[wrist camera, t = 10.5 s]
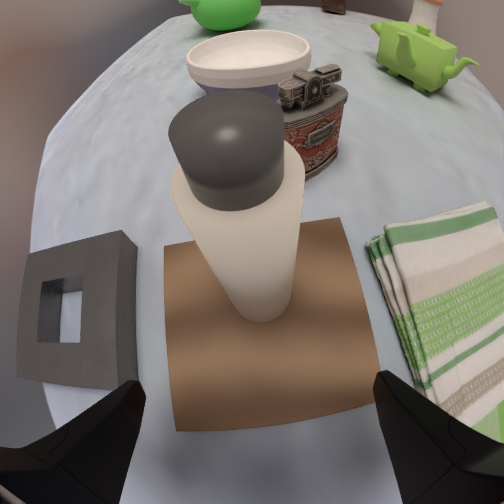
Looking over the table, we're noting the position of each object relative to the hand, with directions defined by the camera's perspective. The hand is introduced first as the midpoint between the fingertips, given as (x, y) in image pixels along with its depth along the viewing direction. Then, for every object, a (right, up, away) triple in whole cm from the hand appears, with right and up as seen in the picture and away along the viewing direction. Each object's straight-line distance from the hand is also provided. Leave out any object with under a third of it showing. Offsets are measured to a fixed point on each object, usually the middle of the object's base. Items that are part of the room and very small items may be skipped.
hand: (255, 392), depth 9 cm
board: (+1, 0, +10) cm, 10 cm away
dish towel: (+19, -2, +8) cm, 21 cm away
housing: (-15, -1, +11) cm, 19 cm away
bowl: (0, +25, +22) cm, 34 cm away
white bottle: (+1, +2, +10) cm, 10 cm away
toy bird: (-6, +58, +39) cm, 70 cm away
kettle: (+27, +34, +24) cm, 50 cm away
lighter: (+5, +13, +16) cm, 21 cm away
